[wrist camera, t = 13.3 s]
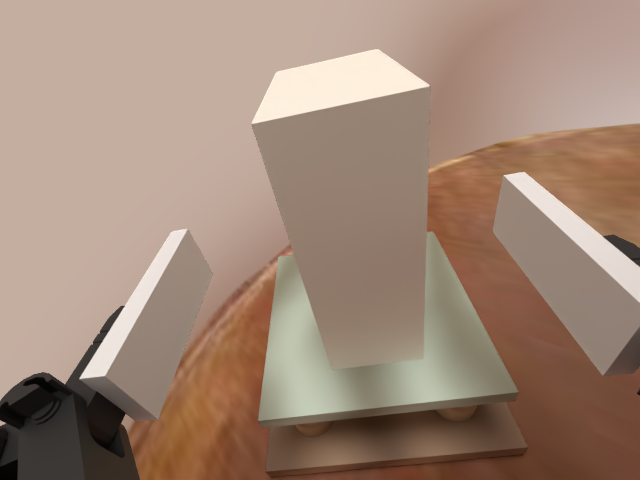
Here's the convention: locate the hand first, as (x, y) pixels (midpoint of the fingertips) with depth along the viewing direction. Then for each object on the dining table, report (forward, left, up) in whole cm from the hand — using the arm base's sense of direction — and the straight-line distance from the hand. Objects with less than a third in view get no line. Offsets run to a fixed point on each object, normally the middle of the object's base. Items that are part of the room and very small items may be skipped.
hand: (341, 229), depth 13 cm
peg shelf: (-1, -4, -16) cm, 16 cm away
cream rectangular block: (-1, -4, -10) cm, 10 cm away
